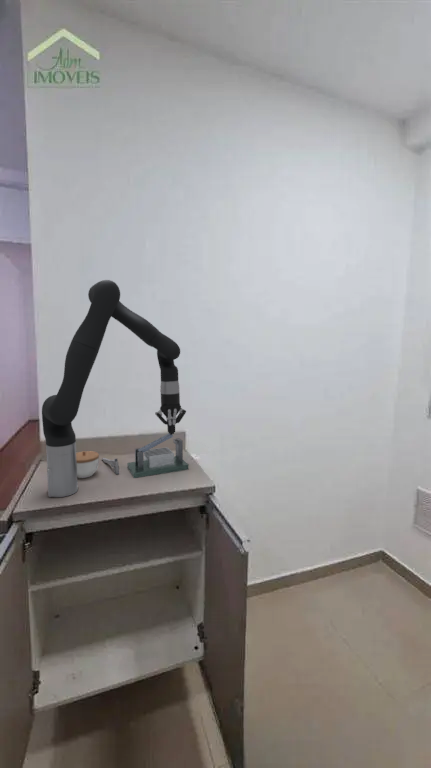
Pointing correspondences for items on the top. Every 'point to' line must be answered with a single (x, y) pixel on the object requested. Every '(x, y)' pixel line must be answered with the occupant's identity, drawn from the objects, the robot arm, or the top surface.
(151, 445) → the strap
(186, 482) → the top surface
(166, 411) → the robot arm
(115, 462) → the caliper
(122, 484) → the top surface
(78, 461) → the lidded jar
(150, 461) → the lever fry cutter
